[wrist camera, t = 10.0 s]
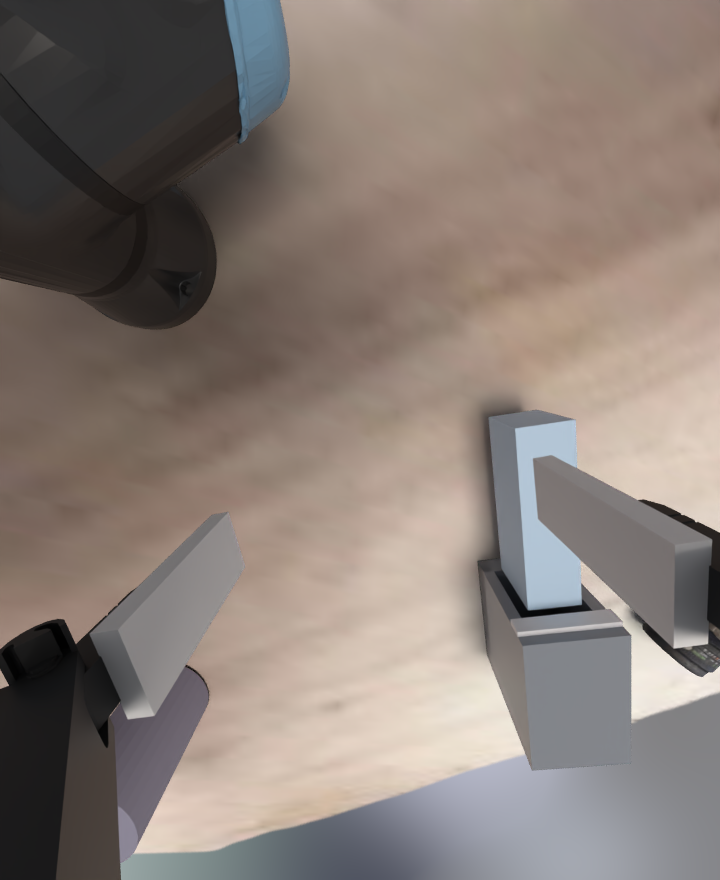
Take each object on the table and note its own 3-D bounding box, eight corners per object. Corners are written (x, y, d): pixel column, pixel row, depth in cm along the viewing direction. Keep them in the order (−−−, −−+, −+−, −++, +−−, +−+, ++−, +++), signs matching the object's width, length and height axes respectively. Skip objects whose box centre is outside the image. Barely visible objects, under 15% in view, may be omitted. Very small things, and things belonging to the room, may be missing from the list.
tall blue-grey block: (488, 416, 36) (515, 428, 29) (536, 409, 35) (575, 419, 28) (501, 568, 39) (528, 610, 32) (545, 563, 39) (581, 604, 32)
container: (185, 650, 47) (99, 778, 32) (223, 706, 49) (157, 851, 34) (125, 675, 48) (17, 808, 34) (164, 728, 50) (77, 877, 35)
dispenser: (477, 557, 42) (522, 641, 29) (551, 548, 41) (631, 630, 28) (487, 655, 45) (532, 770, 32) (556, 648, 44) (631, 763, 31)
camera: (593, 593, 42) (659, 660, 33) (653, 532, 40) (742, 584, 31) (687, 656, 44) (777, 739, 34) (749, 600, 42) (864, 670, 32)
